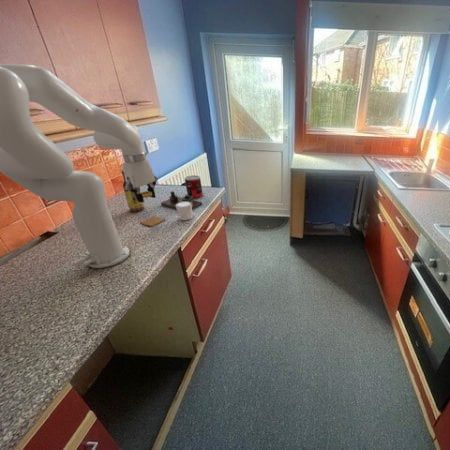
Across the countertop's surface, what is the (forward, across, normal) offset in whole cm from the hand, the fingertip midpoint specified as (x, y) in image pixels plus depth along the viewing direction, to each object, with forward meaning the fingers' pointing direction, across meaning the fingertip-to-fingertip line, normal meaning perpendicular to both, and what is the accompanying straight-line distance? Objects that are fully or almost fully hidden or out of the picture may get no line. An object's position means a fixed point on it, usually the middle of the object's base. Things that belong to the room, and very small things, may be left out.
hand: (146, 199), depth 109 cm
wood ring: (+7, -20, +2) cm, 21 cm away
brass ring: (-2, 0, 0) cm, 2 cm away
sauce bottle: (+12, -6, -18) cm, 22 cm away
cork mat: (+11, 0, 0) cm, 11 cm away
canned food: (+12, -33, -6) cm, 35 cm away
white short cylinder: (+11, -10, +10) cm, 18 cm away
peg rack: (+11, -20, -3) cm, 23 cm away
